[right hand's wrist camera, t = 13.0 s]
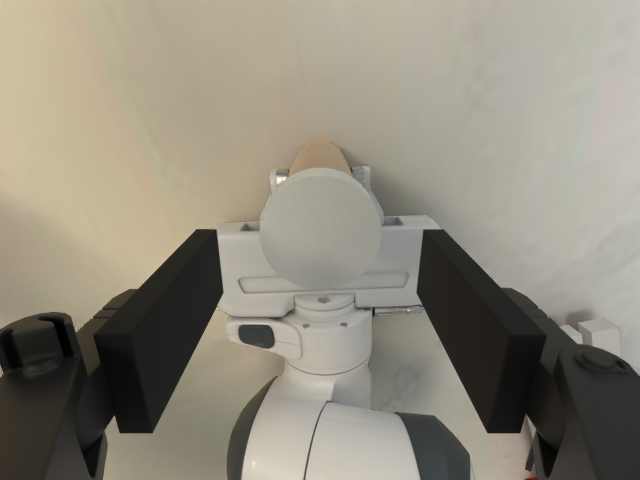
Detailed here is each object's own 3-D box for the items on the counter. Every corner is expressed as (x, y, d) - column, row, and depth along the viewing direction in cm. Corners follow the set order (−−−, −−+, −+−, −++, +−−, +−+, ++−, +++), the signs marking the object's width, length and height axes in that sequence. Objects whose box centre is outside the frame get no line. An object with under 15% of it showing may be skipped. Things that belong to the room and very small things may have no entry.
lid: (286, 149, 17) (281, 155, 15) (393, 191, 18) (402, 201, 16) (252, 252, 19) (244, 268, 17) (350, 285, 20) (353, 304, 18)
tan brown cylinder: (304, 131, 34) (287, 163, 16) (353, 150, 34) (391, 203, 16) (287, 180, 35) (253, 261, 17) (334, 198, 36) (349, 293, 18)
